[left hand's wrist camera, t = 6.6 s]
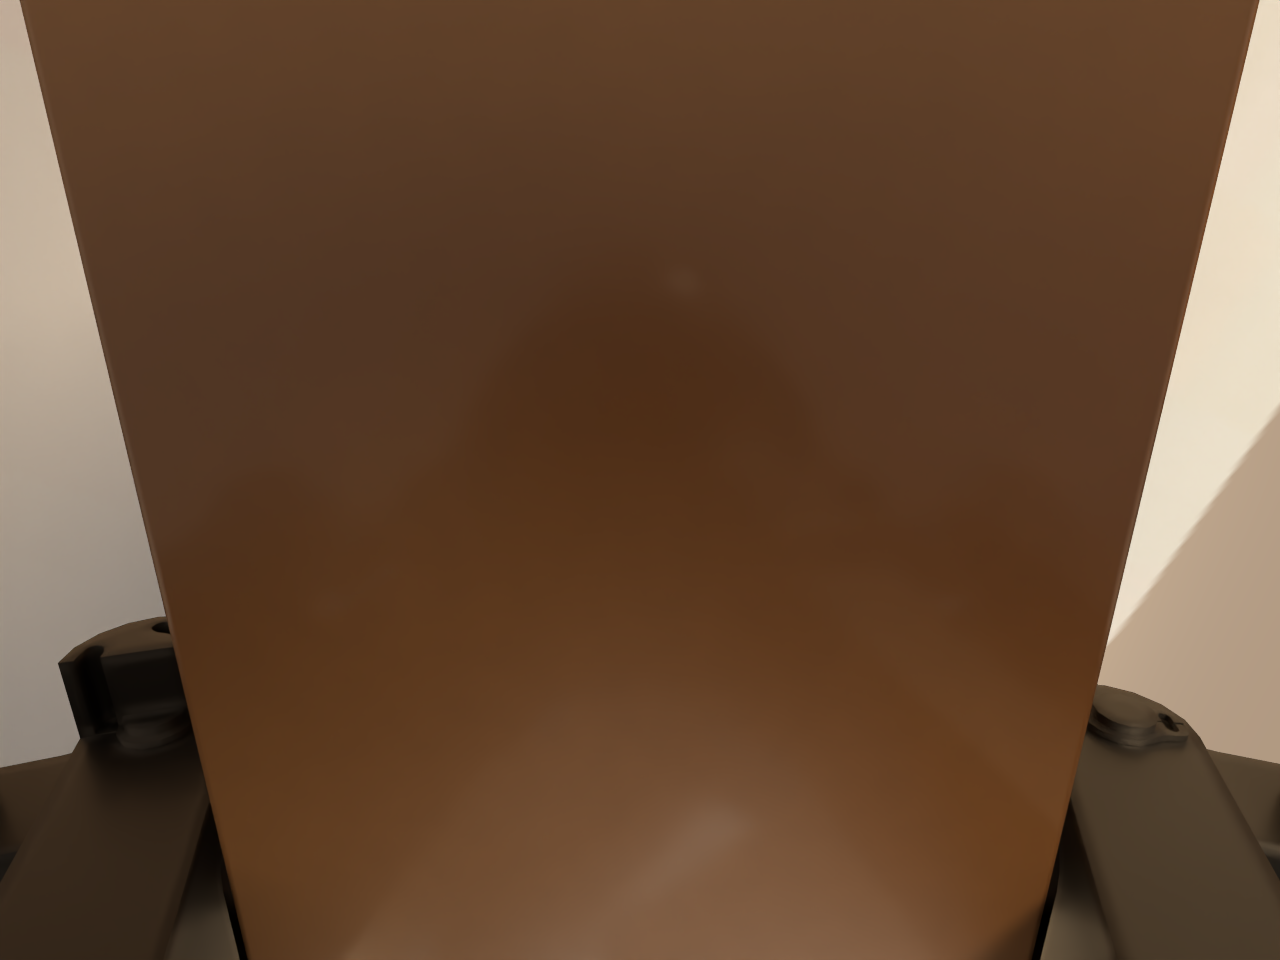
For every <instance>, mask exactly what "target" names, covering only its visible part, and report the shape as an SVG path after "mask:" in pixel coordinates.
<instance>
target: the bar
mask: <svg viewBox="0 0 1280 960" xmlns="http://www.w3.org/2000/svg"><path fill="white" fill-rule="evenodd" d="M20 3H21V7H22V12H23V16H24V20H25V24H26V28H27V33H28V37H29V41H30V45H31V49H32V54H33V58H34V62H35V66H36V71H37V75H38V79H39V83H40V87H41V92H42V96H43V100H44V104H45V108H46V113H47V117H48V121H49V125H50V129H51V134H52V138H53V142H54V146H55V151H56V155H57V159H58V163H59V167H60V172H61V176H62V180H63V184H64V188H65V193H66V197H67V201H68V205H69V209H70V214H71V218H72V222H73V226H74V231H75V235H76V239H77V243H78V247H79V252H80V256H81V260H82V264H83V268H84V273H85V277H86V281H87V285H88V289H89V294H90V298H91V302H92V306H93V310H94V315H95V319H96V323H97V327H98V332H99V336H100V340H101V344H102V348H103V353H104V357H105V361H106V365H107V369H108V374H109V378H110V382H111V386H112V390H113V395H114V399H115V403H116V407H117V412H118V416H119V420H120V424H121V428H122V433H123V437H124V441H125V445H126V449H127V454H128V458H129V462H130V466H131V470H132V475H133V479H134V483H135V487H136V492H137V496H138V500H139V504H140V508H141V513H142V517H143V521H144V525H145V529H146V534H147V538H148V542H149V546H150V550H151V555H152V559H153V563H154V567H155V572H156V576H157V580H158V584H159V588H160V593H161V597H162V601H163V605H164V609H165V614H166V618H167V622H168V626H169V630H170V635H171V639H172V643H173V647H174V652H175V656H176V660H177V664H178V668H179V673H180V677H181V681H182V685H183V689H184V694H185V698H186V702H187V706H188V710H189V715H190V719H191V723H192V727H193V731H194V736H195V740H196V744H197V748H198V753H199V757H200V761H201V765H202V769H203V774H204V778H205V782H206V786H207V790H208V795H209V799H210V803H211V807H212V811H213V816H214V820H215V824H216V828H217V833H218V837H219V841H220V845H221V849H222V854H223V858H224V862H225V866H226V870H227V875H228V879H229V883H230V887H231V891H232V896H233V900H234V904H235V908H236V913H237V917H238V921H239V925H240V929H241V934H242V938H243V942H244V946H245V950H246V955H247V959H248V960H1032V956H1033V952H1034V948H1035V943H1036V939H1037V935H1038V931H1039V927H1040V922H1041V918H1042V914H1043V910H1044V905H1045V901H1046V897H1047V893H1048V889H1049V884H1050V880H1051V876H1052V872H1053V868H1054V863H1055V859H1056V855H1057V851H1058V847H1059V842H1060V838H1061V834H1062V830H1063V825H1064V821H1065V817H1066V813H1067V809H1068V804H1069V800H1070V796H1071V792H1072V788H1073V783H1074V779H1075V775H1076V771H1077V767H1078V762H1079V758H1080V754H1081V750H1082V745H1083V741H1084V737H1085V733H1086V729H1087V724H1088V720H1089V716H1090V712H1091V708H1092V703H1093V699H1094V695H1095V691H1096V686H1097V682H1098V678H1099V674H1100V670H1101V665H1102V661H1103V657H1104V653H1105V649H1106V644H1107V640H1108V636H1109V632H1110V628H1111V623H1112V619H1113V615H1114V611H1115V606H1116V602H1117V598H1118V594H1119V590H1120V585H1121V581H1122V577H1123V573H1124V569H1125V564H1126V560H1127V556H1128V552H1129V548H1130V543H1131V539H1132V535H1133V531H1134V526H1135V522H1136V518H1137V514H1138V510H1139V505H1140V501H1141V497H1142V493H1143V489H1144V484H1145V480H1146V476H1147V472H1148V468H1149V463H1150V459H1151V455H1152V451H1153V446H1154V442H1155V438H1156V434H1157V430H1158V425H1159V421H1160V417H1161V413H1162V409H1163V404H1164V400H1165V396H1166V392H1167V387H1168V383H1169V379H1170V375H1171V371H1172V366H1173V362H1174V358H1175V354H1176V350H1177V345H1178V341H1179V337H1180V333H1181V329H1182V324H1183V320H1184V316H1185V312H1186V307H1187V303H1188V299H1189V295H1190V291H1191V286H1192V282H1193V278H1194V274H1195V270H1196V265H1197V261H1198V257H1199V253H1200V249H1201V244H1202V240H1203V236H1204V232H1205V227H1206V223H1207V219H1208V215H1209V211H1210V206H1211V202H1212V198H1213V194H1214V190H1215V185H1216V181H1217V177H1218V173H1219V169H1220V164H1221V160H1222V156H1223V152H1224V147H1225V143H1226V139H1227V135H1228V131H1229V126H1230V122H1231V118H1232V114H1233V110H1234V105H1235V101H1236V97H1237V93H1238V89H1239V84H1240V80H1241V76H1242V72H1243V67H1244V63H1245V59H1246V55H1247V51H1248V46H1249V42H1250V38H1251V34H1252V30H1253V25H1254V21H1255V17H1256V13H1257V8H1258V4H1259V0H20Z"/></svg>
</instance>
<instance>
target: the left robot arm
mask: <svg viewBox="0 0 1280 960" xmlns="http://www.w3.org/2000/svg"><path fill="white" fill-rule="evenodd" d="M58 665H59V668H60V672H61V675H62V678H63V682H64V685H65V688H66V692H67V695H68V699H69V702H70V705H71V709H72V712H73V715H74V719H75V722H76V725H77V729H78V732H79V735H80V740H79V742H78V743H77V745H76V747H75V749H74V751H73V752H72V753H71V754H67V755H63V756H58V757H53V758H47V759H42V760H37V761H32V762H27V763H22V764H17V765H12V766H7V767H2V768H0V960H248V959H247V955H246V950H245V946H244V942H243V938H242V934H241V929H240V925H239V921H238V917H237V913H236V908H235V904H234V900H233V896H232V891H231V887H230V883H229V879H228V875H227V870H226V866H225V862H224V858H223V854H222V849H221V845H220V841H219V837H218V833H217V828H216V824H215V820H214V816H213V811H212V807H211V803H210V799H209V795H208V790H207V786H206V782H205V778H204V774H203V769H202V765H201V761H200V757H199V753H198V748H197V744H196V740H195V736H194V731H193V727H192V723H191V719H190V715H189V710H188V706H187V702H186V698H185V694H184V689H183V685H182V681H181V677H180V673H179V668H178V664H177V660H176V656H175V652H174V647H173V643H172V639H171V635H170V630H169V626H168V622H167V618H166V617H156V618H151V619H146V620H142V621H137V622H132V623H128V624H125V625H122V626H120V627H117V628H114V629H111V630H109V631H106V632H103V633H100V634H98V635H96V636H94V637H93V638H91V639H89V640H87V641H86V642H84V643H82V644H80V645H78V646H77V647H75V648H74V649H72V650H71V651H70V652H69V653H68V654H67V655H66V656H65V657H64V658H63V659H62V660H61V661H60V662H59V663H58ZM1032 960H1280V764H1277V763H1272V762H1267V761H1262V760H1257V759H1251V758H1246V757H1241V756H1236V755H1231V754H1226V753H1221V752H1216V751H1212V750H1208V749H1206V747H1205V746H1204V744H1203V742H1202V740H1201V738H1200V737H1199V736H1198V735H1197V733H1196V732H1195V731H1194V730H1193V729H1192V728H1191V726H1190V725H1189V724H1188V723H1187V722H1186V721H1185V720H1184V719H1183V718H1181V717H1180V716H1178V715H1177V714H1175V713H1174V712H1172V711H1171V710H1169V709H1168V708H1166V707H1165V706H1163V705H1161V704H1159V703H1157V702H1154V701H1152V700H1150V699H1147V698H1145V697H1143V696H1140V695H1138V694H1136V693H1133V692H1129V691H1125V690H1121V689H1117V688H1113V687H1109V686H1105V685H1098V684H1097V686H1096V691H1095V695H1094V699H1093V703H1092V708H1091V712H1090V716H1089V720H1088V724H1087V729H1086V733H1085V737H1084V741H1083V745H1082V750H1081V754H1080V758H1079V762H1078V767H1077V771H1076V775H1075V779H1074V783H1073V788H1072V792H1071V796H1070V800H1069V804H1068V809H1067V813H1066V817H1065V821H1064V825H1063V830H1062V834H1061V838H1060V842H1059V847H1058V851H1057V855H1056V859H1055V863H1054V868H1053V872H1052V876H1051V880H1050V884H1049V889H1048V893H1047V897H1046V901H1045V905H1044V910H1043V914H1042V918H1041V922H1040V927H1039V931H1038V935H1037V939H1036V943H1035V948H1034V952H1033V956H1032Z"/></svg>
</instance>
